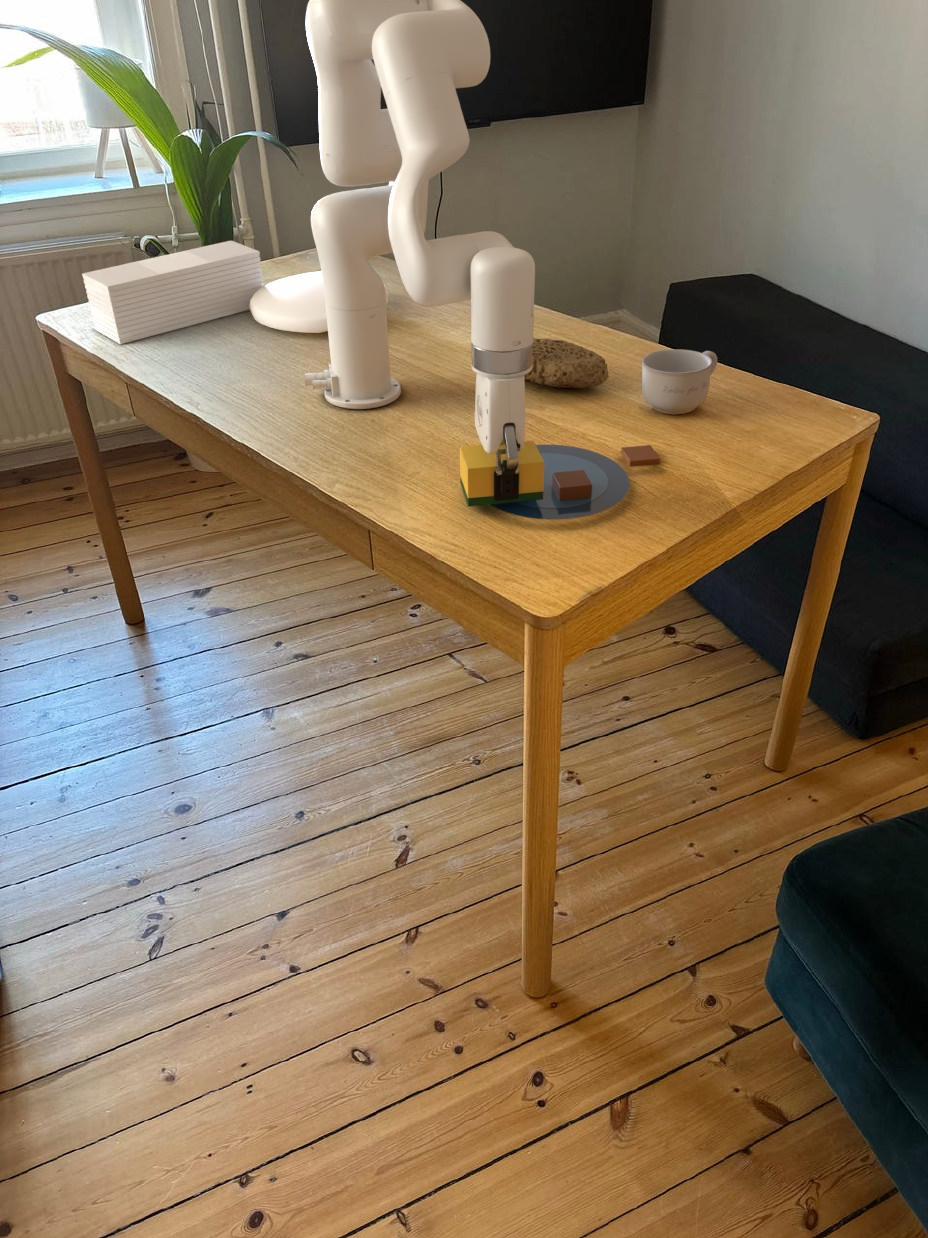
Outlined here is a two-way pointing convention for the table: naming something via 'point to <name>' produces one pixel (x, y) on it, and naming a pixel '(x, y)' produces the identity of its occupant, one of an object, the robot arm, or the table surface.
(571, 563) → the table surface
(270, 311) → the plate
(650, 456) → the block
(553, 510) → the side plate
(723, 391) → the table surface
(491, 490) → the scrub sponge
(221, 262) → the white long rectangular block
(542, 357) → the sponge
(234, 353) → the table surface
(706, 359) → the teacup
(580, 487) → the block
